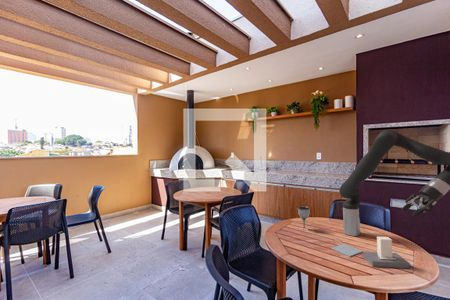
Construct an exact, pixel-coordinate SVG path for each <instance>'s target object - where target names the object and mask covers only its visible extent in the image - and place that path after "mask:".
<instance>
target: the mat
mask: <svg viewBox="0 0 450 300" xmlns="http://www.w3.org/2000/svg"><path fill="white" fill-rule="evenodd" d="M330 249H331V250H333V251H335V252H337V253H340V254H342V255H344V256H345V257H347V258H351V257H354V256H356V255H359V254H361V253H362V254H363V252H364V251H363V250H360V249H359V248H355V247H353V246H351V245H348V244H346V243H342V244H339V245H336V246H333V247H330Z"/></svg>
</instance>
